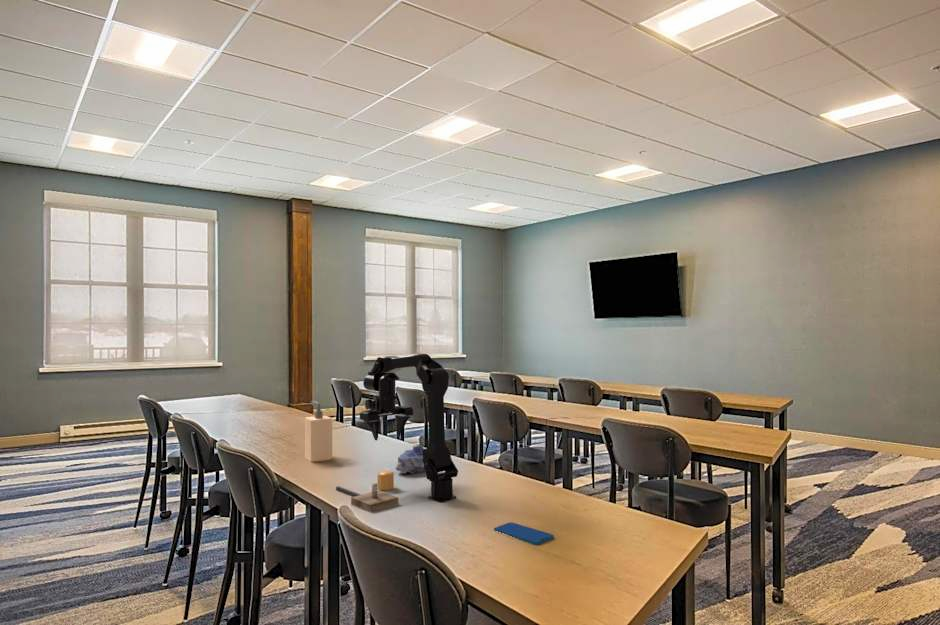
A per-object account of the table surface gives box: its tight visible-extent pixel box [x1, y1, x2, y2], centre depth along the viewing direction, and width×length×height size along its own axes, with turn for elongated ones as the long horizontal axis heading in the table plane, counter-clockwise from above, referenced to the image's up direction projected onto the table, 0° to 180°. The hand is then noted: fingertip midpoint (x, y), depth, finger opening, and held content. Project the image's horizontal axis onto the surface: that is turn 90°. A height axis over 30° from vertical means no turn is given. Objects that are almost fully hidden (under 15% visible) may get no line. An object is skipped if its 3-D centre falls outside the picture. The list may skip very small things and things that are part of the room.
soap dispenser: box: [304, 400, 333, 463], centre depth 233 cm, size 13×9×22 cm
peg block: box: [350, 482, 399, 512], centre depth 173 cm, size 10×10×6 cm
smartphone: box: [493, 522, 555, 546], centre depth 148 cm, size 7×1×15 cm
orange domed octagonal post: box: [377, 470, 395, 491], centre depth 189 cm, size 5×5×5 cm
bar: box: [335, 485, 362, 497], centre depth 182 cm, size 16×1×1 cm, turn 44°
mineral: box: [395, 444, 425, 474], centre depth 211 cm, size 14×10×10 cm
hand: (387, 438), depth 198 cm, fingers open, 9 cm apart
